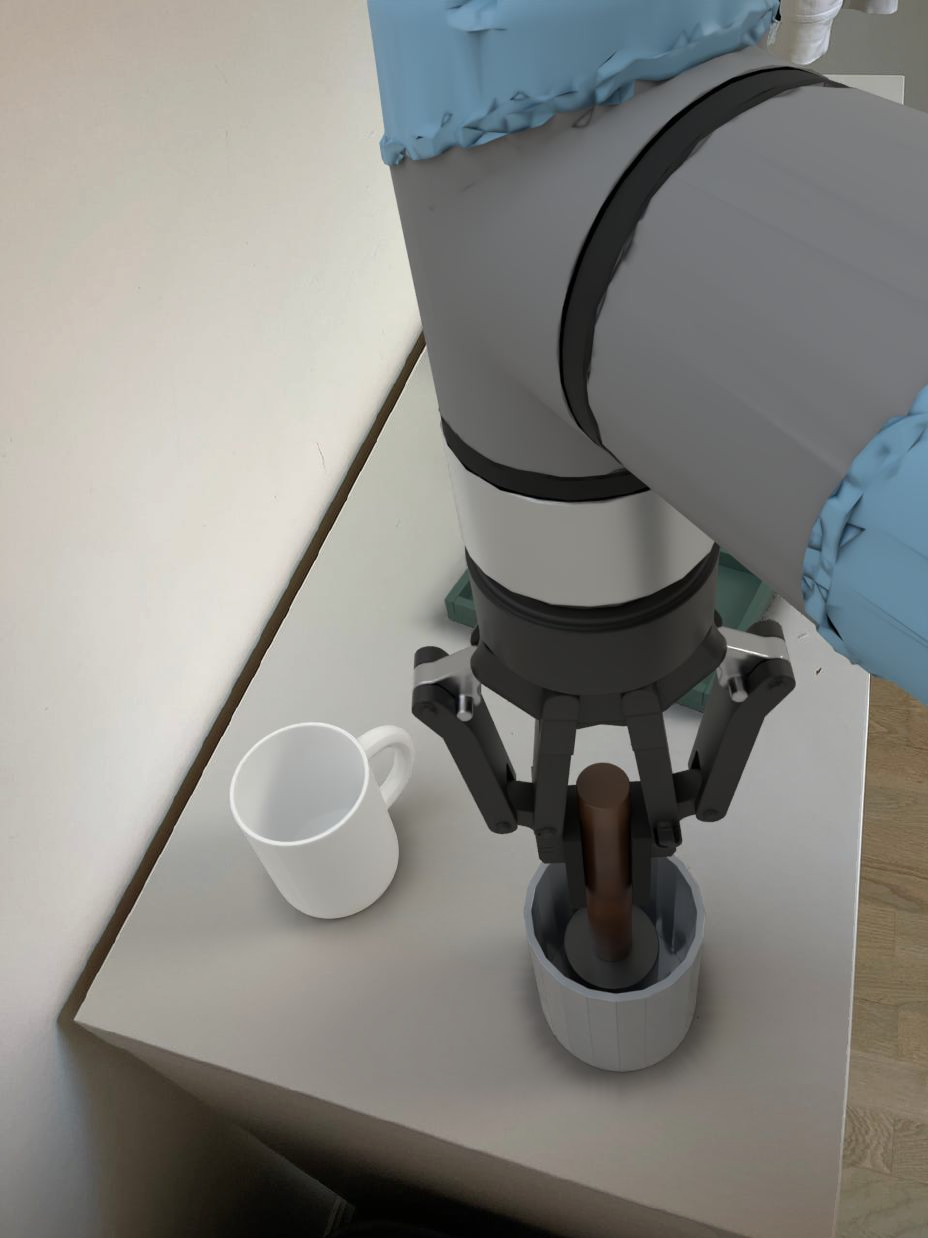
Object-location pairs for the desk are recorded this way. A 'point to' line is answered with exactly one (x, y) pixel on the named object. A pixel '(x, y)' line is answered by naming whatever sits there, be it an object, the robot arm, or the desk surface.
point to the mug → (323, 813)
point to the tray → (735, 601)
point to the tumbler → (630, 1021)
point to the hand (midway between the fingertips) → (607, 879)
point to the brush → (609, 893)
